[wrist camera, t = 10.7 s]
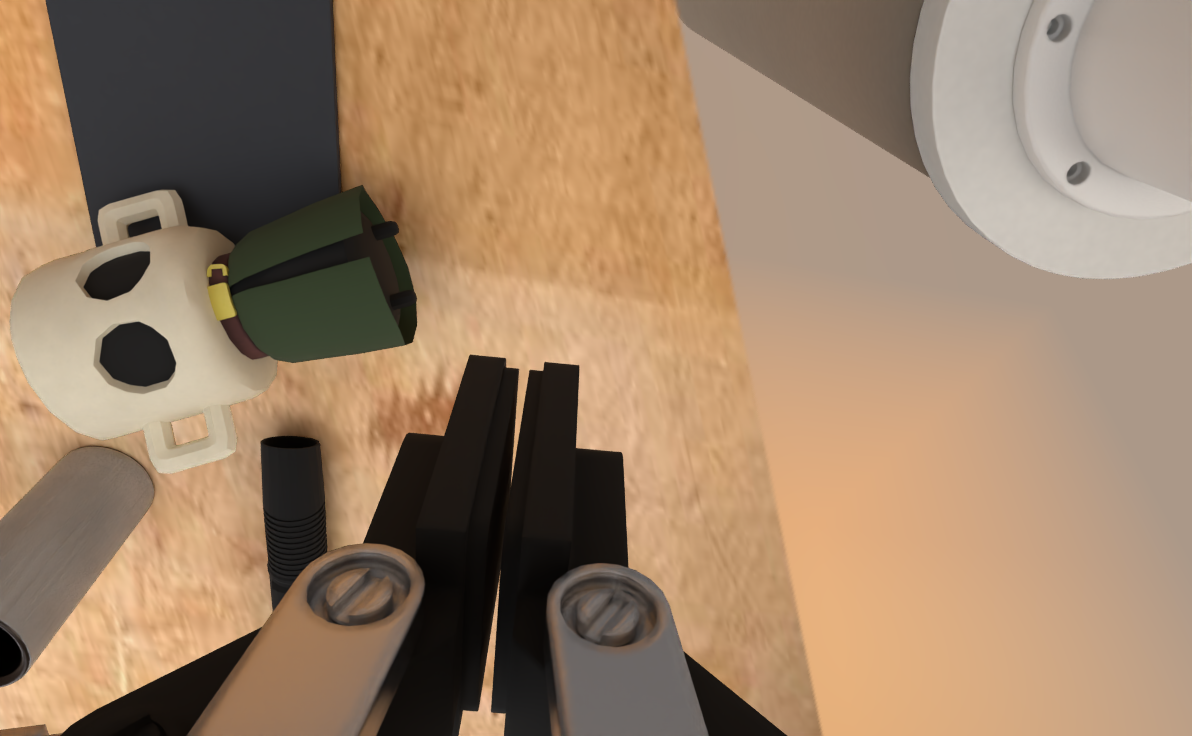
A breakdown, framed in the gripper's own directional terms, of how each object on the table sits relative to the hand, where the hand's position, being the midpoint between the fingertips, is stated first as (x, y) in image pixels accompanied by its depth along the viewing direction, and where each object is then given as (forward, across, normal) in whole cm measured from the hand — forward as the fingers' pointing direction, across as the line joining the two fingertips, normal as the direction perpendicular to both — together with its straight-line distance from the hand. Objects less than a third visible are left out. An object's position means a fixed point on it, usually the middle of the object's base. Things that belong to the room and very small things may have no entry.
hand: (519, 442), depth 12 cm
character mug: (+18, +6, +4) cm, 19 cm away
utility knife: (+21, +12, +25) cm, 35 cm away
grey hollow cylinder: (+21, +21, +19) cm, 35 cm away
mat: (+21, +14, +2) cm, 25 cm away
